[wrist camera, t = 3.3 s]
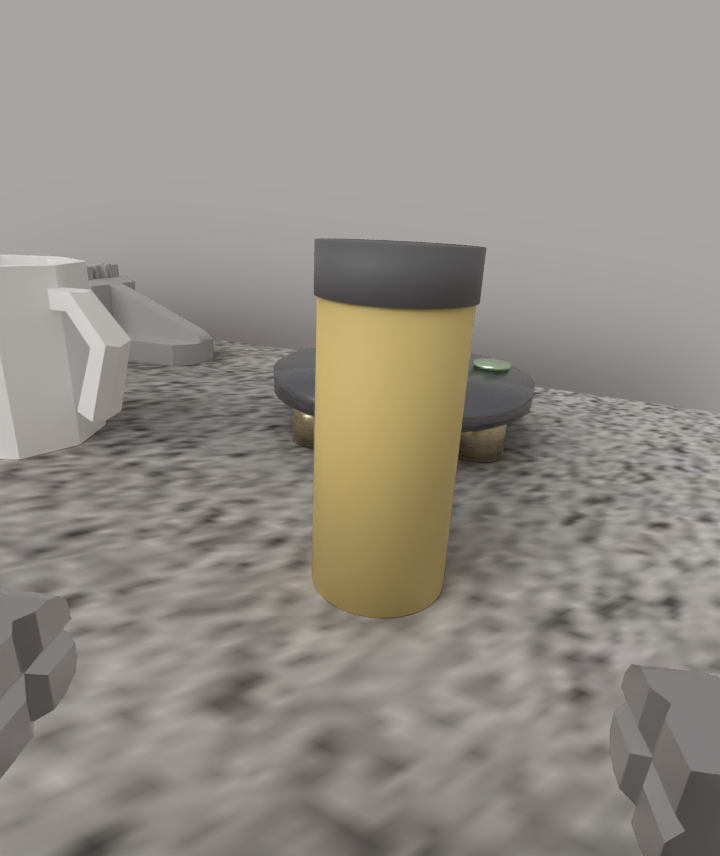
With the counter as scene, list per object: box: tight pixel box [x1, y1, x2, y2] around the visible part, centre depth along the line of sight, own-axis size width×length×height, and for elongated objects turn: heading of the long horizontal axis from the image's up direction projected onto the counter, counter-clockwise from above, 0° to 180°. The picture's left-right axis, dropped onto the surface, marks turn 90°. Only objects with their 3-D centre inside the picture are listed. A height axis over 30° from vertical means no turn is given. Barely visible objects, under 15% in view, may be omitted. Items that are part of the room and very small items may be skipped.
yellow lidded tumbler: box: [312, 239, 486, 618], centre depth 19 cm, size 5×5×12 cm
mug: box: [0, 255, 131, 459], centre depth 30 cm, size 12×9×10 cm
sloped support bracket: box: [87, 264, 214, 366], centre depth 52 cm, size 6×18×8 cm, turn 72°
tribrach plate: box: [274, 348, 534, 463], centre depth 35 cm, size 16×16×4 cm
